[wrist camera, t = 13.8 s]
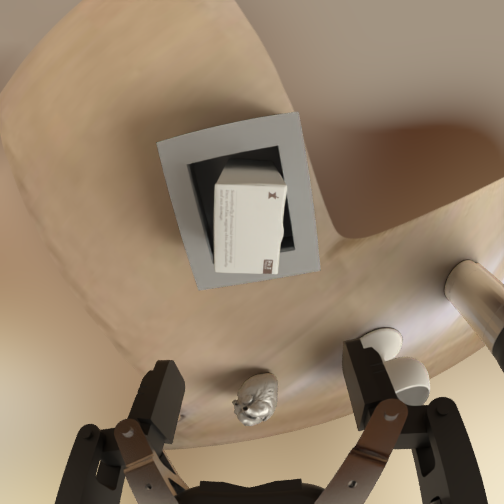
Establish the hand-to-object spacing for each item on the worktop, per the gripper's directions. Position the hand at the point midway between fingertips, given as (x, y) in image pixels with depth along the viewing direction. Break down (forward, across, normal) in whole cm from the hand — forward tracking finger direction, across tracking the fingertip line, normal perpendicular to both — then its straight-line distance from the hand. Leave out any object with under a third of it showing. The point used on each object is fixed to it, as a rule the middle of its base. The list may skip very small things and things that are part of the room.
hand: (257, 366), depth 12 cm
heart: (+28, +6, +35) cm, 46 cm away
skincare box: (+27, +1, -2) cm, 27 cm away
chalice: (+29, -18, +32) cm, 47 cm away
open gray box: (+28, +1, -3) cm, 28 cm away
